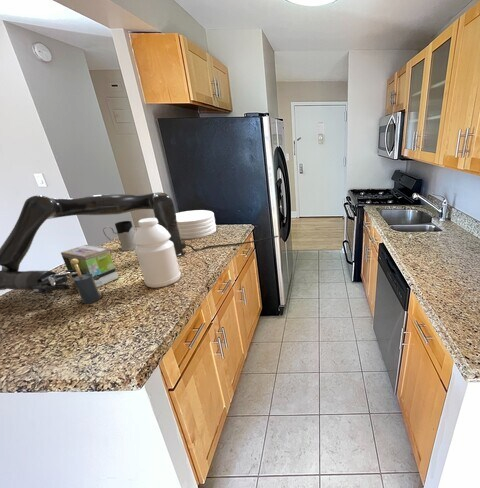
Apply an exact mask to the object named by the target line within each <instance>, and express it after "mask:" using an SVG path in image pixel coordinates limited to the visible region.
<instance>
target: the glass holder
mask: <svg viewBox="0 0 480 488" xmlns="http://www.w3.org/2000/svg"><path fill="white" fill-rule="evenodd" d="M114 226H115V229H116V232H115V230H114V229H113V228H112V227H111V226H105V227H103V228H102V232H103V234H104V236H105V237H106V238H107V240H109V241H110V242H111V241H112V242H113V243H116V244H119V245H120V247H121V248H120V249H121V251H131V250H135V249H136V247H137V246H138V245H137V244H135V243H134V242H133V240H134V235H135V233H136V231H135V229H134V225H133V223H132V220H123V221H118V222H115V223H114ZM107 228H108V229H111V231H112V233H113V234H116V235H117V237H118V240H119V241H115V240H113V239H111V238H110V237H108V236H107V234H106V233H105V229H107Z"/></svg>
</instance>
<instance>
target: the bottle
mask: <svg viewBox="0 0 480 488" xmlns="http://www.w3.org/2000/svg"><path fill="white" fill-rule="evenodd" d="M137 223H138V226H139V227H137V229H136V231H135V235H134V240H133V242H134V243H135V244H137V245H138V246H137V247H136V249H134V252H135V256H136V257H137V260H138V264H139V268H140V271H141V274H142V277H143V282H144V284H145V286H146V287H148V288H155V289H156V288H162V287H166V286H170V285H172V284H174V283H176V282H178V281H179V280H180V279H181V276H182V274H181V273H182V272H181V271H180V266H179V262H178V256H176V253H175V248H174V244H173V242H172V241H170V240H169V238H170V237H171V235H170V233H169V232H168V231H167V230H166V229H165V228H164V227H163V226H161V225H159V224H157V223H158V220H157V218H155V217H146V218H140V219H138V221H137Z"/></svg>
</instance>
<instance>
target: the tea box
mask: <svg viewBox="0 0 480 488" xmlns="http://www.w3.org/2000/svg"><path fill="white" fill-rule="evenodd" d="M60 254H61V257H62V260H63V262H64V264H65V267H66V270H70V269H75V267H74V265H73V264H71V263H70V261H71V260H72V259H78V261H79V262H78V267H79V269H82V271H83V273H89V274H92V276H93V278H94V281H95V283H96V286H97V288H99V287H101V286H103V285H106V284H108V283H110V282H112V281H114V280H116V279H117V280H118V278H119V275H118V272H117V270H116V267H115V264H114V260H113V258H112V255H111V251H110V249H109V248H108V247H103V246H98V245H97V246H96V245H90V244H84V245H81V246H77V247H74V248H71V249H68V250H65V251H62V252H60ZM73 277H76V276H73ZM72 283H73V284H75V283H74V280H73V281H72Z"/></svg>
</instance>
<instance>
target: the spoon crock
mask: <svg viewBox="0 0 480 488" xmlns="http://www.w3.org/2000/svg"><path fill="white" fill-rule="evenodd" d="M78 262H79V261H78V259H72V260H71V261H70V263H71V264H73V265H74V267H75V269H76V271H77V274H78V276H77V277H75V278H74V279H73V280H74V283H73V284H74V285H75V288H76V290H77V293H78V294H79V298H80V299H81V302H82V303H83V304H91V303H95V302H97V301H98V300H100V299H101V294H100V292H99V291H100V290H99V289H98V287H97V286H96V283H95V281H94V278H93V276H92V274H83V275H82V274H81V272H80V269H79V267H78Z"/></svg>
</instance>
